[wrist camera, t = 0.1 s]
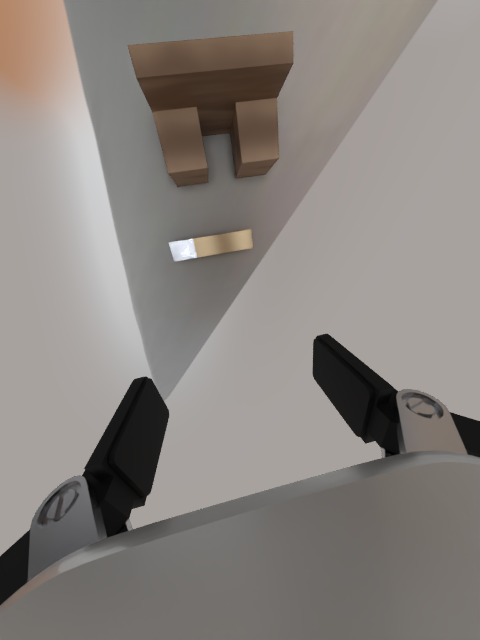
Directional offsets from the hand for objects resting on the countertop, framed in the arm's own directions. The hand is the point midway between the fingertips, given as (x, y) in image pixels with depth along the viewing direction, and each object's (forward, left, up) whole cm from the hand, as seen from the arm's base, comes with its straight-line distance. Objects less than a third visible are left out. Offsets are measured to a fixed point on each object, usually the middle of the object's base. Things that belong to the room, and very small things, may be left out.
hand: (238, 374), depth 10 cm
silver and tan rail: (-6, 0, -31) cm, 32 cm away
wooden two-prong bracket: (-20, +4, -31) cm, 37 cm away
